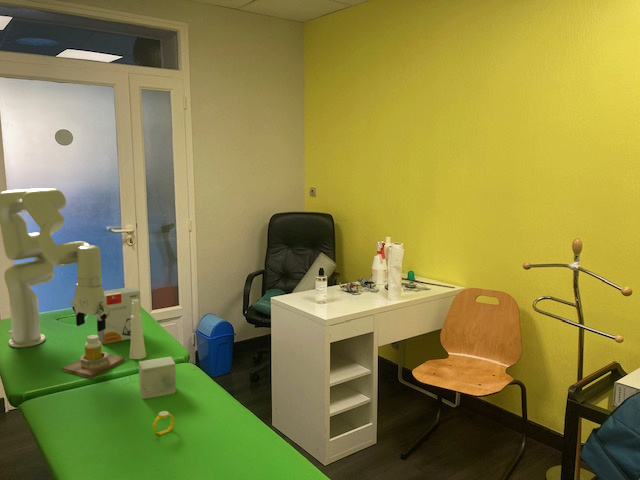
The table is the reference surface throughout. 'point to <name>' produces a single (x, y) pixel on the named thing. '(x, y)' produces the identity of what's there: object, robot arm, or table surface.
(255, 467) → the table surface
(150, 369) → the skincare box
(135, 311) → the cosmetic bottle
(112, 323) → the hard drive box
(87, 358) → the supplement bottle
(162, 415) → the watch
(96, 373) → the walnut board
